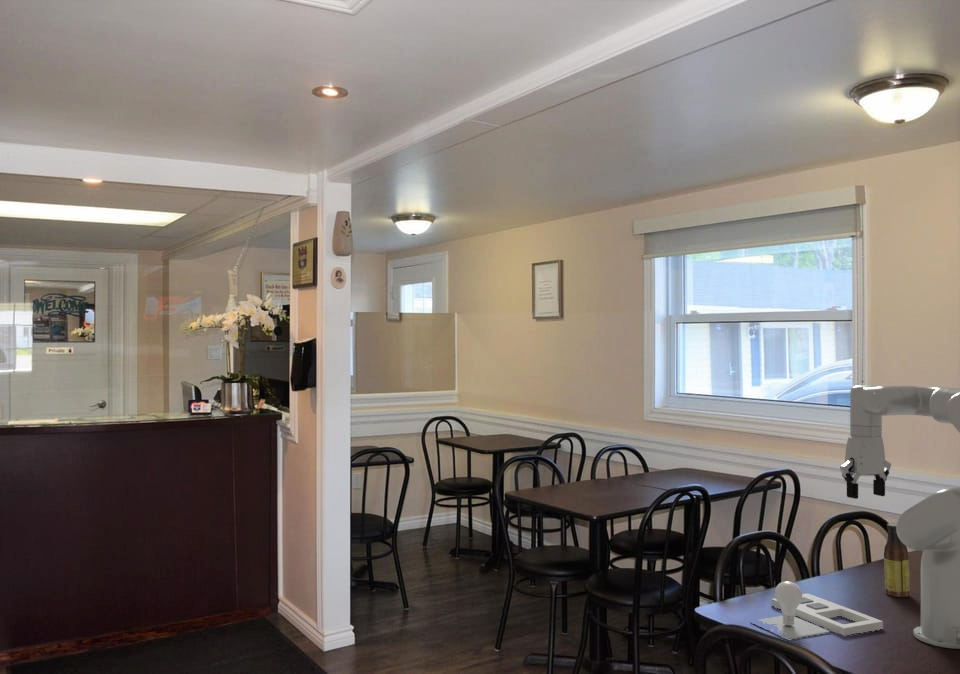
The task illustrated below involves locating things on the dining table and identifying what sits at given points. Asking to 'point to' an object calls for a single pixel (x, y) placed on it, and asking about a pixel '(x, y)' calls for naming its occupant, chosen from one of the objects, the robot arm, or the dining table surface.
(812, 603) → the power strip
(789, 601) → the lightbulb
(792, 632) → the mat
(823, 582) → the dining table surface
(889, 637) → the dining table surface
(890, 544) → the sauce bottle
